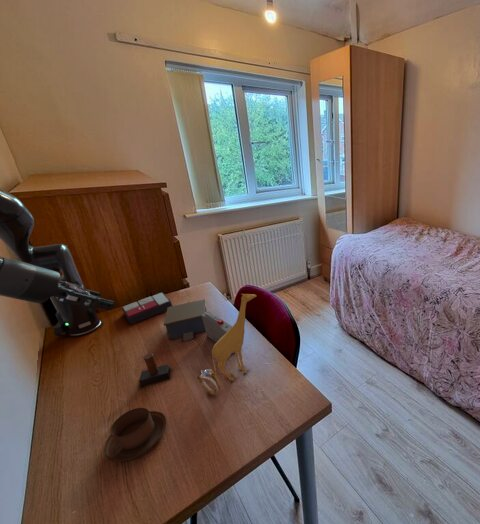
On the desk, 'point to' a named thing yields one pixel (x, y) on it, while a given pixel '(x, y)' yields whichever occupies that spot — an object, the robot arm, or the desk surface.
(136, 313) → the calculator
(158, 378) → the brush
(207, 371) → the ring
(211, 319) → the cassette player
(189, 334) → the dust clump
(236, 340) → the giraffe
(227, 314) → the desk surface
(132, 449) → the brown fedora hat
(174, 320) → the grey storage box
